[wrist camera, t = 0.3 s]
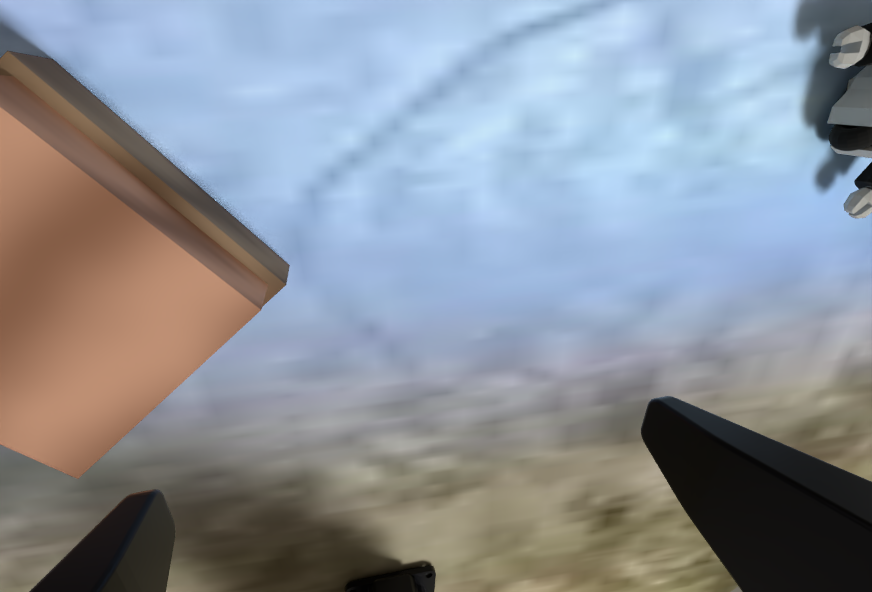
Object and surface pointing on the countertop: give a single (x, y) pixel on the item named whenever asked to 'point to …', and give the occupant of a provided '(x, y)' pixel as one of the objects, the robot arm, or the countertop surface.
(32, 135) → the brown stepped block
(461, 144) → the countertop surface
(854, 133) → the robot toy
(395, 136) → the countertop surface
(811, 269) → the countertop surface
